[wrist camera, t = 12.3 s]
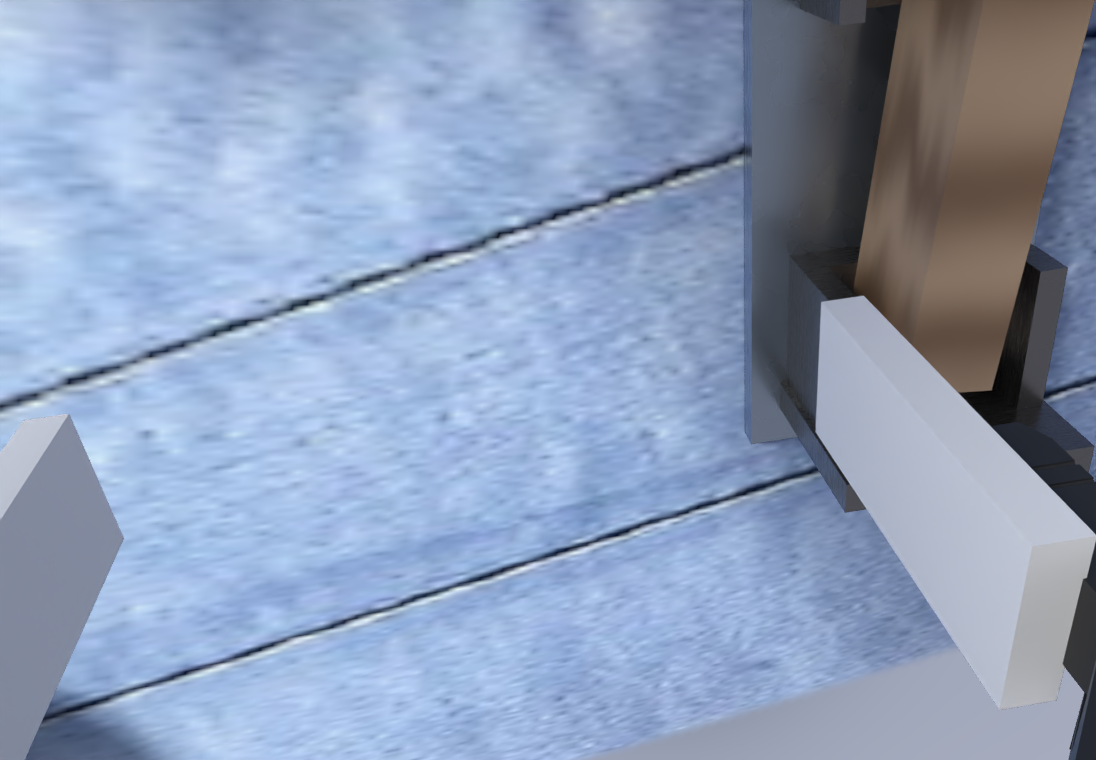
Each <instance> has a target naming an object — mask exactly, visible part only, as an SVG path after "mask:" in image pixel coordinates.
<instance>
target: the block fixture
mask: <svg viewBox="0 0 1096 760" xmlns="http://www.w3.org/2000/svg"><path fill="white" fill-rule="evenodd" d="M901 3H902V0H744V327H745V433H746V435H747V437H748V439H749V441H750V443H751V444H755V443H762V442H768V441H775V440H781V439H788V438H794V437H798V438H799V440H800V441H801V443H802V444H803V446H804V448H805V449H806V451H807V452H808V454H809V456H810V457H811V459H812V460H813V462H814V464H815V465H816V467H817V468H818V470H819V472H820V473H821V475H822V477H823V478H824V480H825V481H826V483H827V485H828V486H829V488H830V489H831V491H832V493H833V494H834V496H835V497H836V499H837V501H838V502H839V504H840V505H841V507H842V509H843V510H844V512H852V511H858V510H864V509H866V508H865V506H864V505H863V503H862V502H861V500H860V498H859V497H858V495H857V494H856V492H855V491H854V489H853V488H852V486H851V485H850V483H849V482H848V480H847V479H846V477H845V476H844V474H843V473H842V471H841V470H840V468H839V467H838V465H837V464H836V462H835V461H834V459H833V458H832V456H831V455H830V453H829V452H828V450H827V449H826V447H825V446H824V444H823V442H822V441H821V439H820V438H819V436H818V435H817V433H816V409H817V387H818V364H819V341H820V318H821V302H824V301H831V300H838V299H845V298H851V297H856V296H855V295H854V294H853V288H854V282H855V276H856V270H857V265H858V259H859V253H860V247H861V241H862V235H863V229H864V223H865V217H866V211H867V205H868V199H869V193H870V187H871V181H872V175H873V169H874V163H875V157H876V151H877V145H878V140H879V134H880V128H881V122H882V116H883V110H884V104H885V98H886V92H887V86H888V80H889V74H890V68H891V62H892V56H893V50H894V44H895V38H896V32H897V26H898V20H899V15H900V9H901ZM1040 208H1041V206H1040ZM1039 214H1040V210H1039V213H1038V217H1037V221H1036V225H1035V228H1034V232H1033V236H1032V240H1031V244H1030V247H1029V251H1028V255H1027V259H1026V262H1025V266H1024V270H1023V274H1022V278H1021V281H1020V285H1019V289H1018V293H1017V296H1016V300H1015V304H1014V308H1013V312H1012V315H1011V319H1010V323H1009V327H1008V331H1007V334H1006V338H1005V342H1004V346H1003V349H1002V353H1001V357H1000V361H999V365H998V368H997V372H996V376H995V380H994V383H993V387H992V390H990V391H974V392H959V394H960V395H961V396H962V397H963V398H964V399H965V401H966V402H967V403H968V404H969V405H970V406H971V407H972V408H973V409H974V410H975V411H976V412H977V413H978V414H979V415H980V416H981V417H982V418H983V419H984V420H985V421H986V422H987V423H988V424H989V425H990V426H995V425H1001V424H1007V423H1014V422H1020V423H1022V424H1024V425H1026V426H1028V427H1030V428H1032V429H1034V430H1036V431H1038V432H1040V433H1042V434H1044V435H1046V436H1048V437H1050V438H1052V439H1053V440H1054V441H1055V442H1056V443H1057V444H1058V445H1060V446H1061V447H1062V448H1063V449H1064V450H1065V451H1066V452H1067V453H1068V454H1069V455H1070V456H1071V457H1072V458H1073V459H1074V460H1075V464H1076V465H1078V464H1080V465H1081V466H1082V467H1083V468H1084V469H1085V470H1086V471H1087V472H1089V468H1090V464H1091V459H1092V455H1093V450H1094V445H1092V444H1091V443H1090V442H1089V441H1088V440H1087V439H1086V438H1085V437H1084V436H1082V435H1081V434H1080V433H1079V432H1078V431H1077V430H1076V429H1075V428H1074V427H1072V426H1071V425H1070V424H1069V423H1068V422H1067V421H1066V420H1065V419H1063V418H1062V417H1061V416H1060V415H1059V414H1058V413H1057V412H1056V411H1055V410H1053V409H1052V408H1051V407H1050V406H1049V405H1048V404H1047V403H1046V402H1045V401H1043V397H1044V392H1045V386H1046V381H1047V376H1048V370H1049V365H1050V360H1051V355H1052V349H1053V344H1054V339H1055V333H1056V328H1057V323H1058V317H1059V312H1060V307H1061V302H1062V296H1063V291H1064V286H1065V280H1066V275H1067V270H1068V267H1066V266H1065V265H1063V264H1062V263H1060V262H1059V261H1057V260H1055V259H1054V258H1052V257H1051V256H1049V255H1048V254H1046V253H1045V252H1043V251H1042V250H1040V249H1039V248H1037V247H1036V246H1034V244H1035V238H1036V232H1037V226H1038V220H1039Z"/></svg>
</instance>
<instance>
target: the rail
mask: <svg viewBox="0 0 1096 760" xmlns="http://www.w3.org/2000/svg"><path fill="white" fill-rule="evenodd" d="M1094 2H1095V0H902V3H901V9H900V15H899V20H898V26H897V32H896V38H895V44H894V50H893V56H892V62H891V68H890V74H889V80H888V86H887V92H886V98H885V104H884V110H883V116H882V122H881V128H880V134H879V140H878V145H877V151H876V157H875V163H874V169H873V175H872V181H871V187H870V193H869V199H868V205H867V211H866V217H865V223H864V229H863V235H862V241H861V247H860V253H859V259H858V265H857V270H856V276H855V282H854V288H853V294H854V295H855V296H856V297H858V296H864V297H865V298H866V299H867V300H868V301H869V302H870V303H871V304H872V305H873V306H874V307H875V308H876V309H877V310H878V311H879V312H880V313H881V314H882V315H883V316H884V317H885V318H886V319H887V320H888V321H889V322H890V323H891V324H892V325H893V326H894V327H895V328H896V329H897V331H898V332H899V333H900V334H901V335H902V336H903V337H904V338H905V339H906V340H907V341H908V342H909V343H910V344H911V345H912V346H913V347H914V348H915V349H916V350H917V351H918V352H919V353H920V354H921V355H922V356H923V357H924V358H925V359H926V360H927V361H928V362H929V363H930V364H931V366H932V367H933V368H934V369H935V370H936V371H937V372H938V373H939V374H940V375H941V376H942V377H943V378H944V379H945V380H946V381H947V382H948V383H949V384H950V385H951V386H952V387H953V388H954V389H955V390H956V391H957V392H958V393H959V392H974V391H990V390H992V387H993V383H994V380H995V376H996V372H997V368H998V365H999V361H1000V357H1001V353H1002V349H1003V346H1004V342H1005V338H1006V334H1007V331H1008V327H1009V323H1010V319H1011V315H1012V312H1013V308H1014V304H1015V300H1016V296H1017V293H1018V289H1019V285H1020V281H1021V278H1022V274H1023V270H1024V266H1025V262H1026V259H1027V255H1028V251H1029V247H1030V244H1031V240H1032V236H1033V232H1034V228H1035V225H1036V221H1037V217H1038V213H1039V210H1040V206H1041V202H1042V198H1043V194H1044V191H1045V187H1046V183H1047V179H1048V176H1049V172H1050V168H1051V164H1052V160H1053V157H1054V153H1055V149H1056V145H1057V142H1058V138H1059V134H1060V130H1061V126H1062V123H1063V119H1064V115H1065V111H1066V108H1067V104H1068V100H1069V96H1070V92H1071V89H1072V85H1073V81H1074V77H1075V73H1076V70H1077V66H1078V62H1079V58H1080V55H1081V51H1082V47H1083V43H1084V39H1085V36H1086V32H1087V28H1088V24H1089V21H1090V17H1091V13H1092V9H1093V5H1094Z"/></svg>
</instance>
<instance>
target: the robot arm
mask: <svg viewBox="0 0 1096 760" xmlns="http://www.w3.org/2000/svg"><path fill="white" fill-rule="evenodd" d="M816 433H817V435H818V436H819V438H820V439H821V441H822V442H823V444H824V446H825V447H826V449H827V450H828V452H829V453H830V455H831V456H832V458H833V459H834V461H835V462H836V464H837V465H838V467H839V468H840V470H841V471H842V473H843V474H844V476H845V477H846V479H847V480H848V482H849V483H850V485H851V486H852V488H853V489H854V491H855V492H856V494H857V495H858V497H859V498H860V500H861V502H862V503H863V505H864V506H865V508H866V509H867V511H868V512H869V514H870V515H871V517H872V518H873V520H874V521H875V523H876V524H877V526H878V527H879V529H880V530H881V532H882V533H883V535H884V536H885V538H886V539H887V541H888V542H889V544H890V545H891V547H892V548H893V550H894V551H895V553H896V555H897V556H898V558H899V559H900V561H901V562H902V564H903V565H904V567H905V568H906V570H907V571H908V573H909V574H910V576H911V577H912V579H913V580H914V582H915V583H916V585H917V586H918V588H919V589H920V591H921V592H922V594H923V595H924V597H925V598H926V600H927V601H928V603H929V604H930V606H931V607H932V609H933V611H934V612H935V614H936V615H937V617H938V618H939V620H940V621H941V623H942V624H943V626H944V627H945V629H946V630H947V632H948V633H949V635H950V636H951V638H952V639H953V641H954V642H955V644H956V645H957V647H958V648H959V650H960V651H961V653H962V654H963V656H964V657H965V659H966V660H967V662H968V664H969V665H970V667H971V668H972V669H973V671H974V673H975V674H976V676H977V677H978V679H979V680H980V682H981V683H982V685H983V686H984V688H985V689H986V691H987V692H988V694H989V695H990V697H991V698H992V700H993V701H994V703H995V704H996V706H997V707H998V709H999V710H1003V709H1009V708H1015V707H1021V706H1027V705H1033V704H1039V703H1045V702H1051V701H1056V700H1057V697H1058V693H1059V689H1060V685H1061V681H1062V677H1063V673H1064V669H1065V668H1066V669H1067V670H1068V672H1069V673H1070V674H1071V676H1072V677H1073V678H1074V680H1075V681H1076V682H1077V683H1078V685H1079V686H1080V687H1081V688H1082V690H1083V691H1084V697H1083V700H1082V704H1081V708H1080V711H1079V716H1078V719H1077V723H1076V727H1075V730H1074V734H1073V738H1072V742H1071V745H1070V749H1071V751H1070V756H1069V760H1096V482H1094V480H1093V477H1092V476H1091V475H1090V474H1089V473H1088V472H1087V471H1086V470H1085V469H1084V468H1083V467H1082V466H1081V465H1080V464H1078V465H1076V464H1075V460H1074V459H1073V458H1072V457H1071V456H1070V455H1069V454H1068V453H1067V452H1066V451H1065V450H1064V449H1063V448H1062V447H1061V446H1060V445H1058V444H1057V443H1056V442H1055V441H1054V440H1053V439H1052V438H1050V437H1048V436H1046V435H1044V434H1042V433H1040V432H1038V431H1036V430H1034V429H1032V428H1030V427H1028V426H1026V425H1024V424H1022V423H1020V422H1014V423H1007V424H1001V425H995V426H990V425H989V424H988V423H987V422H986V421H985V420H984V419H983V418H982V417H981V416H980V415H979V414H978V413H977V412H976V411H975V410H974V409H973V408H972V407H971V406H970V405H969V404H968V403H967V402H966V401H965V399H964V398H963V397H962V396H961V395H960V394H959V393H958V392H957V391H956V390H955V389H954V388H953V387H952V386H951V385H950V384H949V383H948V382H947V381H946V380H945V379H944V378H943V377H942V376H941V375H940V374H939V373H938V372H937V371H936V370H935V369H934V368H933V367H932V366H931V364H930V363H929V362H928V361H927V360H926V359H925V358H924V357H923V356H922V355H921V354H920V353H919V352H918V351H917V350H916V349H915V348H914V347H913V346H912V345H911V344H910V343H909V342H908V341H907V340H906V339H905V338H904V337H903V336H902V335H901V334H900V333H899V332H898V331H897V329H896V328H895V327H894V326H893V325H892V324H891V323H890V322H889V321H888V320H887V319H886V318H885V317H884V316H883V315H882V314H881V313H880V312H879V311H878V310H877V309H876V308H875V307H874V306H873V305H872V304H871V303H870V302H869V301H868V300H867V299H866V298H865V297H864V296H858V297H851V298H845V299H838V300H831V301H824V302H821V318H820V341H819V364H818V387H817V409H816ZM123 539H124V538H123V535H122V533H121V531H120V528H119V526H118V524H117V522H116V519H115V517H114V515H113V513H112V510H111V508H110V506H109V503H108V501H107V499H106V497H105V494H104V492H103V490H102V487H101V485H100V483H99V481H98V478H97V476H96V474H95V472H94V469H93V467H92V465H91V462H90V460H89V458H88V456H87V453H86V451H85V449H84V447H83V444H82V442H81V440H80V437H79V435H78V433H77V431H76V428H75V426H74V424H73V422H72V419H71V417H70V415H69V414H63V415H57V416H50V417H43V418H36V419H30V420H24V421H23V422H22V423H21V425H20V426H19V428H18V429H17V430H16V432H15V433H14V435H13V436H12V437H11V439H10V440H9V442H8V443H7V444H6V446H5V447H4V448H3V450H2V451H1V453H0V760H25V758H26V756H27V754H28V751H29V749H30V747H31V745H32V742H33V740H34V738H35V736H36V733H37V731H38V729H39V727H40V725H41V722H42V720H43V718H44V716H45V713H46V711H47V709H48V707H49V704H50V702H51V700H52V698H53V696H54V693H55V691H56V689H57V687H58V684H59V682H60V680H61V678H62V675H63V673H64V671H65V669H66V667H67V664H68V662H69V660H70V658H71V655H72V653H73V651H74V649H75V646H76V644H77V642H78V640H79V638H80V635H81V633H82V631H83V629H84V626H85V624H86V622H87V620H88V617H89V615H90V613H91V611H92V609H93V606H94V604H95V602H96V600H97V597H98V595H99V593H100V591H101V588H102V586H103V584H104V582H105V580H106V577H107V575H108V573H109V571H110V568H111V566H112V564H113V562H114V559H115V557H116V555H117V553H118V551H119V548H120V546H121V544H122V542H123Z"/></svg>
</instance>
